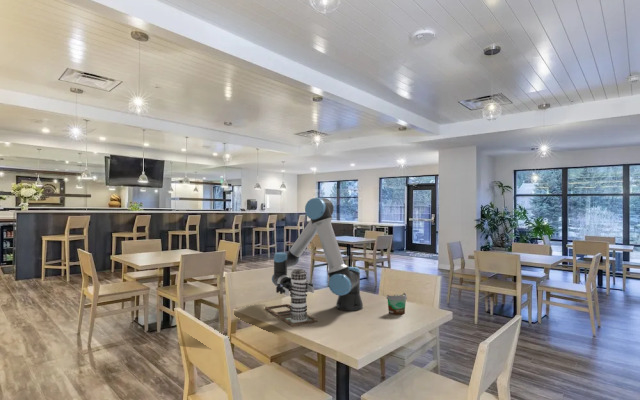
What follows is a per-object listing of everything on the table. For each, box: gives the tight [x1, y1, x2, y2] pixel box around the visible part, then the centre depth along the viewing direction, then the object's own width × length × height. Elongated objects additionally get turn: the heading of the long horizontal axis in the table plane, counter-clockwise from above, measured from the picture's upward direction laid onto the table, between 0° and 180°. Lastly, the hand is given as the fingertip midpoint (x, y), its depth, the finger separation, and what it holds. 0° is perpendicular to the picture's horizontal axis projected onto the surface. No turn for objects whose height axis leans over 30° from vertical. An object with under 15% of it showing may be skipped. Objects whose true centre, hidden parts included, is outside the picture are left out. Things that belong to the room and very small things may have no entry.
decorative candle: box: [289, 268, 309, 322], centre depth 178 cm, size 9×9×25 cm
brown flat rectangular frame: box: [265, 303, 318, 327], centre depth 187 cm, size 34×14×1 cm, turn 30°
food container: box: [386, 292, 408, 316], centre depth 190 cm, size 12×6×10 cm, turn 117°
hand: (300, 291), depth 176 cm, fingers open, 13 cm apart
